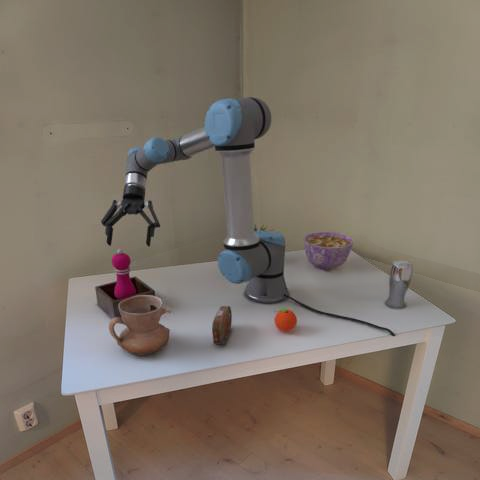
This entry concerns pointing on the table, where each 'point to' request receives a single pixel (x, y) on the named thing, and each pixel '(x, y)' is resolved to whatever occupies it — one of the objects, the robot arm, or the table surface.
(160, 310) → the ceramic jug
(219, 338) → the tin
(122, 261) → the pepper mill
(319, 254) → the bowl of food
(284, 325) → the clementine
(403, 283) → the beer glass
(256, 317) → the table surface
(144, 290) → the box
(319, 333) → the table surface
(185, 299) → the table surface
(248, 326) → the table surface
